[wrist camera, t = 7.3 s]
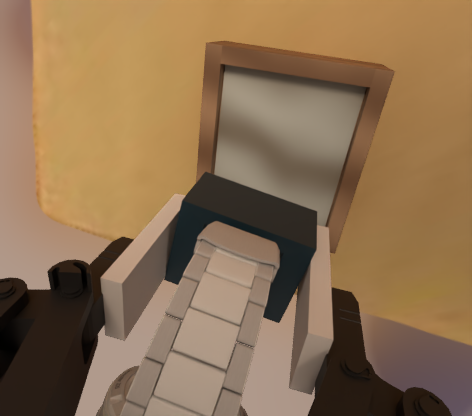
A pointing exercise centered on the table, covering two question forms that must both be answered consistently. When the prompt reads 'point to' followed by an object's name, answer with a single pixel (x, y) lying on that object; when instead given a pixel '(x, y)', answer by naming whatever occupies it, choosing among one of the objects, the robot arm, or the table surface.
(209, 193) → the watch
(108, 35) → the table surface
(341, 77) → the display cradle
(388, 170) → the table surface
